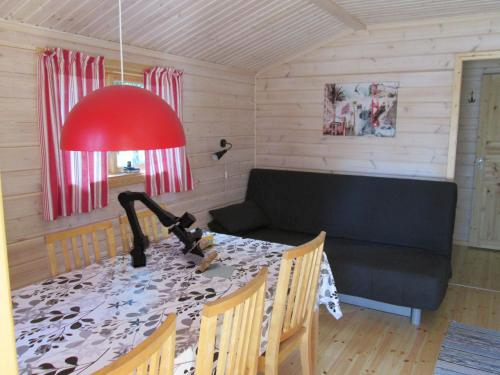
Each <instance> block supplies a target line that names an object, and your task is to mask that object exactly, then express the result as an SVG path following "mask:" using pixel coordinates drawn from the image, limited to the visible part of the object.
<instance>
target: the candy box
mask: <svg viewBox="0 0 500 375" xmlns="http://www.w3.org/2000/svg"><path fill="white" fill-rule="evenodd" d="M201 237H202V239H201V240H199V241H198V243H199V242H200V248H201V250H202V252H203V253H204V252H206V251H208V250H212V249H214V234H208V235H205V236H201Z"/></svg>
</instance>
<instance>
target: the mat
mask: <svg viewBox="0 0 500 375" xmlns="http://www.w3.org/2000/svg"><path fill="white" fill-rule="evenodd" d="M236 268H237V265H228V264H226V265H225V264H224V265H223V264H212V263H211V264H210V265H209V266H208V267H207V268H206V269H205V270H204V271H203V272H202V275H201V276H202V277H203V276H205V277H217V278H231V277H232V275H233V273H234V271H235V270H236Z"/></svg>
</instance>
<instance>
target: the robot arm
mask: <svg viewBox="0 0 500 375" xmlns="http://www.w3.org/2000/svg"><path fill="white" fill-rule="evenodd" d="M117 201H118V203H119V205H120V206H121V207H122V209H124V212H125V215H126V217H127V220H128V223H129V227H130V229H131V233H132V235H133V237H132V240H133V241H132V244H133V248H132V249H131V250H129V255H130V257H131V259H130V260H131V263H130V266H132V267H133V269H136V268H137V269H138V268H142V267H147V256H146V253H145V252H147V249H149V247H150V243H151V241H150V239H149V236H148V234H146V235H145V234H144V233H143V230H142V227H141V224H140V220H139V218H138V214H137V212H136V209H135V202H138V201H139V202H140V203H141V204H143V205H144V206H145V207H146V208H147V209H148V210H150V212H152V213H153V214H154V215H156V217H157V219H158V221H159V222H160V223H161V225H162V226H163V227H164V228H167V234H168V235H170V234H172V233H173V235H174V236H175V237H176V238H177V239H178V242H179V243H182V244H183V245H184V247H183V249H182V250H181V254H182V255H183V256H186V255H187V254H188V253H189V254H191V255H195V256H198V257H199V258H200V257H201V258H205V254H204V251H203V252H202V250H201V248H200V242H199V243H198V241H199V240H201V239H202V237H203V235H204V233H203V231H204V230H203V229H202V228H200V227H196V228H195V229H194V231H193V232H191V231H190V230H187V229H190V228H191V227H192V226H193V225H194V224H195V223H196V222H197V219H196V217H195V215H194V214H192V213H190V212H189V211H185V212H184V213H183V214H182V215H181V216H176V215H175V214H173V213H172V212H170V211H169V210H165V209H164V208H163V207H161V206H160V205H159V204H158V203H157V202H156V201H155V200H153V199H152V198H151V196H149V195H148V193H147V192H145V191H131V190H129V189H128V190H125V191H122V192H119V194H117Z"/></svg>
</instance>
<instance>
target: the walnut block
mask: <svg viewBox="0 0 500 375" xmlns="http://www.w3.org/2000/svg"><path fill="white" fill-rule="evenodd" d="M218 255H219V253H218V252H216V251H215V250H213V251H211V253H210V254H209V255H208V256H207V257H206V258H205V259H204V260H203V262H201V264H200V265H199V267H198V268H197V270H199V271H200V272H201V273H204V272H205V270H206V269H207V268H208V266H209V265H210V264H212V263H213V262H214V261H215V259H216V258H217V257H218Z"/></svg>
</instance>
